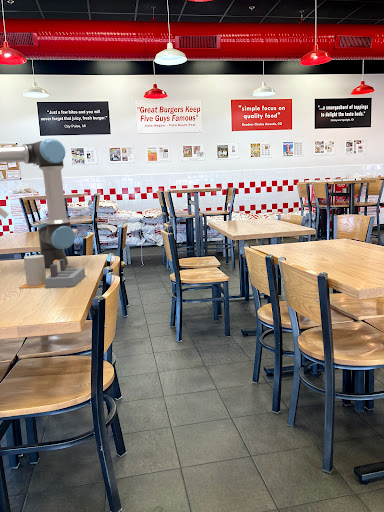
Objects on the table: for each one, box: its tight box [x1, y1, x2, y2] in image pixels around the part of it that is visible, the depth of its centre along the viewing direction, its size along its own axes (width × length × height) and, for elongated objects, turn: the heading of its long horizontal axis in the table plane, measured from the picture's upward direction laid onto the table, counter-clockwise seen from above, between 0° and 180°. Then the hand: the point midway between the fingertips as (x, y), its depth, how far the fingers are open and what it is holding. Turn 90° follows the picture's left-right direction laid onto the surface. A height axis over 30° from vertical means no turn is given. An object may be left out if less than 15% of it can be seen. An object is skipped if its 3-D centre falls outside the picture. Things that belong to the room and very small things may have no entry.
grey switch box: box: [44, 259, 86, 289], centre depth 189 cm, size 20×12×9 cm, turn 0°
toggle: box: [53, 260, 61, 273], centre depth 189 cm, size 3×2×5 cm, turn 0°
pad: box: [19, 282, 45, 289], centre depth 187 cm, size 11×11×1 cm
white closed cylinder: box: [23, 254, 47, 286], centre depth 186 cm, size 8×8×12 cm
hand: (0, 217), depth 187 cm, fingers open, 13 cm apart
